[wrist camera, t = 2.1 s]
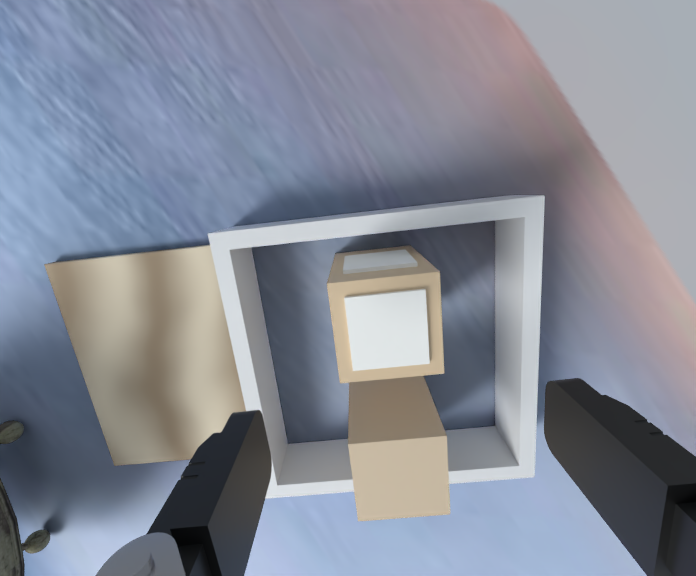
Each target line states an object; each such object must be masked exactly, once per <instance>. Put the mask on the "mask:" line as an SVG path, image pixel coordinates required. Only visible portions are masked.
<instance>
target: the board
mask: <svg viewBox="0 0 696 576" xmlns="http://www.w3.org/2000/svg"><path fill="white" fill-rule="evenodd" d="M44 265H45V268H46V271H47V274H48V277H49V280H50V282H51V285H52V288H53V291H54V294H55V297H56V300H57V302H58V305H59V308H60V311H61V314H62V317H63V320H64V323H65V325H66V328H67V331H68V334H69V337H70V340H71V343H72V345H73V348H74V351H75V354H76V357H77V360H78V363H79V366H80V368H81V371H82V374H83V377H84V380H85V383H86V386H87V388H88V391H89V394H90V397H91V400H92V403H93V406H94V409H95V411H96V414H97V417H98V420H99V423H100V426H101V429H102V431H103V434H104V437H105V440H106V443H107V446H108V449H109V452H110V454H111V457H112V460H113V463H114V466H119V465H130V464H142V463H154V462H166V461H177V460H189V459H191V458H192V457H193V455H194V453H195V452H196V450H197V448H198V447H199V446H200V445H201V444H202V443H203V442H204V441H205V440H207V439H208V438H209V437H210V436H211V435H212V434H213V433H220V432H222V430H223V428H224V426H225V425H226V423H227V421H228V419H229V417H230V415H231V414H232V413H233V412H243V411H246V408H245V403H244V399H243V394H242V390H241V385H240V380H239V376H238V371H237V367H236V362H235V357H234V353H233V348H232V344H231V339H230V334H229V330H228V325H227V321H226V316H225V311H224V307H223V302H222V298H221V293H220V288H219V284H218V279H217V275H216V270H215V265H214V261H213V256H212V252H211V247H210V245H203V246H194V247H185V248H176V249H167V250H158V251H149V252H140V253H131V254H122V255H113V256H104V257H96V258H87V259H78V260H69V261H60V262H53V263H48V264H44Z"/></svg>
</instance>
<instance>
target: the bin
mask: <svg viewBox="0 0 696 576" xmlns="http://www.w3.org/2000/svg"><path fill="white" fill-rule="evenodd" d="M544 202H545V195H507V196H498V197H489V198H480V199H472V200H463V201H454V202H445V203H436V204H428V205H419V206H410V207H401V208H392V209H384V210H375V211H366V212H357V213H348V214H340V215H331V216H322V217H313V218H304V219H296V220H287V221H278V222H269V223H260V224H252V225H243V226H234V227H229V228H226V229H222V230H219V231H215V232H212V233H208V238H209V242H210V247H211V252H212V256H213V261H214V265H215V270H216V275H217V279H218V284H219V288H220V293H221V298H222V302H223V307H224V311H225V316H226V321H227V325H228V330H229V334H230V339H231V344H232V348H233V353H234V357H235V362H236V367H237V371H238V376H239V380H240V385H241V390H242V394H243V399H244V403H245V408H246V411H252V410H260V411H261V413H262V415H263V419H264V424H265V429H266V433H267V438H268V443H269V448H270V452H271V459H272V471H271V479H270V483H269V486H268V490H267V493H266V497H265V499H267V498H279V497H292V496H304V495H317V494H329V493H342V492H354V486H353V478H352V471H351V463H350V455H349V448H348V439H338V440H327V441H315V442H304V443H292V444H288V441H287V436H286V430H285V425H284V420H283V414H282V409H281V404H280V398H279V393H278V387H277V382H276V377H275V371H274V366H273V361H272V355H271V350H270V344H269V339H268V334H267V328H266V323H265V318H264V312H263V307H262V301H261V296H260V291H259V285H258V280H257V275H256V269H255V264H254V259H253V253H252V248H251V247H259V246H268V245H277V244H286V243H295V242H304V241H313V240H322V239H331V238H340V237H349V236H358V235H367V234H376V233H385V232H394V231H403V230H412V229H421V228H430V227H439V226H448V225H457V224H466V223H475V222H484V221H493V220H495V426H489V427H477V428H466V429H454V430H445V432H446V435H447V450H448V473H449V484H455V483H467V482H480V481H492V480H505V479H517V478H530V477H535V451H536V424H537V396H538V368H539V341H540V313H541V285H542V258H543V230H544Z"/></svg>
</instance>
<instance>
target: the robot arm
mask: <svg viewBox="0 0 696 576" xmlns="http://www.w3.org/2000/svg"><path fill="white" fill-rule="evenodd" d="M544 434H545V438H546V442H547V444H548V447H549V449H550V451H551V452H552V454H553V455H554V457H555V458H556V459H557V460H558V462H559V463H560V464H561V466H562V467H563V468H564V469H565V471H566V472H567V473H568V474H569V476H570V477H571V478H572V480H573V481H574V482H575V483H576V485H577V486H578V487H579V489H580V490H581V491H582V492H583V494H584V495H585V496H586V498H587V499H588V500H589V501H590V503H591V504H592V505H593V507H594V508H595V509H596V510H597V512H598V513H599V514H600V516H601V517H602V518H603V519H604V521H605V522H606V523H607V525H608V526H609V527H610V528H611V530H612V531H613V532H614V534H615V535H616V536H617V537H618V539H619V540H620V541H621V543H622V544H623V545H624V546H625V548H626V549H627V550H628V552H629V553H630V554H631V555H632V557H633V558H634V559H635V561H636V562H637V563H638V564H639V566H640V567H641V568H642V570H643V571H644V572H645V573H646V575H647V576H696V457H695V456H694V455H693V454H691V453H690V452H689V451H687V450H686V449H685V448H683V447H682V446H681V445H679V444H678V443H677V442H675V441H674V440H673V439H672V438H670V437H669V436H668V435H664V434H663V432H662V431H661V430H660V429H658V428H657V427H656V426H654V425H653V424H652V423H648V422H647V419H645V418H644V417H643V416H641V415H640V414H639V413H637V412H636V411H635V410H633V409H632V408H631V407H630V406H628V405H626V404H624V403H622V402H619V401H617V400H615V399H613V398H611V397H609V396H607V395H601V394H599V393H598V392H597V391H596V390H594V389H593V388H592V387H591V386H589V385H588V384H587V383H586V382H584V381H583V380H582V379H579V378H575V379H565V380H555V381H549V382H548V383H547V385H546V390H545V416H544ZM271 471H272V459H271V452H270V448H269V443H268V438H267V433H266V429H265V424H264V419H263V415H262V413H261V411H260V410H252V411H243V412H233V413H232V414H231V415H230V417H229V419H228V421H227V423H226V425H225V426H224V428H223V430H222V432H220V433H213V434H212V435H211V436H210V437H209V438H208V439H207V440H205V441H204V442H203V443H202V444H201V445H200V446H199V447H198V448H197V450H196V452H195V453H194V455H193V457H192V458H191V460H190V462H189V466H187V467H186V469H185V470H184V472H183V474H182V475H181V480H178V482H177V484H176V485H175V487H174V489H173V491H172V492H171V494H170V496H169V497H168V499H167V501H166V502H165V504H164V506H163V507H162V509H161V511H160V512H159V514H158V516H157V517H156V519H155V521H154V523H153V524H152V526H151V528H150V529H149V531H148V533H147V534H146V535H144V536H141V537H139V538H137V539H135V540H133V541H131V542H129V543H128V544H126V545H125V546H123V547H122V548H121V549H119V550H118V551H117V552H116V553H114V554H113V555H112V556H111V557H110V558H109V559H108V560H107V561H106V562H105V563H104V565H103V566H102V567H101V569H100V570H99V571H98V573H97V574H96V576H244V573H245V570H246V566H247V563H248V559H249V555H250V552H251V548H252V544H253V541H254V537H255V533H256V530H257V526H258V523H259V519H260V515H261V512H262V508H263V504H264V501H265V497H266V493H267V490H268V486H269V483H270V479H271Z"/></svg>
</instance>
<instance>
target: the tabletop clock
mask: <svg viewBox="0 0 696 576" xmlns="http://www.w3.org/2000/svg"><path fill="white" fill-rule="evenodd" d="M23 432H24V427H23V425H22V424H21V423H20V422H18V421H14V420H13V421H7V422H4V423H3V424H1V425H0V444H8V443H11V442H14V441H15V440H17V439H18V438H19V437H20V436H21V435H22V434H23ZM49 541H50V533H49V532H48V531H47V530H38V531H36V532H34V533H32V534H31V535H30V536H28V538H27V539H26V541H25V543H22V544H21V540H20V534H19V529H18V523H17V518H16V516H15V513H14V511H13V508H12V505H11V503H10V500H9V498H8V495H7V493H6V490H5V488H4V485H3V483H2V481H1V479H0V576H24V558H23V552H22V551H24V550H25V551H26V552H28V553H36V552H39V551H41V550H43V549H44V548H45V547H46V546H47V544H48V543H49Z"/></svg>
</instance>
